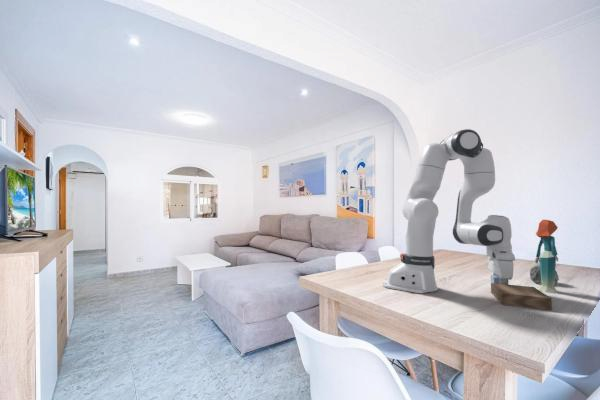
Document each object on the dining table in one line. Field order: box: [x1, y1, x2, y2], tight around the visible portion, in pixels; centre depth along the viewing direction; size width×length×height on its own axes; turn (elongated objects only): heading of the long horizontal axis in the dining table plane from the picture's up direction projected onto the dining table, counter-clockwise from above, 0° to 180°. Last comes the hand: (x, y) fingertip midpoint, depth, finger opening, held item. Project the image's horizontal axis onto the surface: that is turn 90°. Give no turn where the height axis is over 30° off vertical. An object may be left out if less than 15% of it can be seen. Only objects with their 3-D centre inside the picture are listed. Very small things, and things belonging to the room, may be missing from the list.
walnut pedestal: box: [490, 282, 553, 311], centre depth 100 cm, size 14×14×4 cm
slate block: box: [490, 274, 509, 285], centre depth 115 cm, size 5×5×5 cm
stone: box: [529, 262, 560, 285], centre depth 124 cm, size 10×10×10 cm
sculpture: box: [534, 219, 559, 294], centre depth 113 cm, size 13×7×30 cm, turn 168°
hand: (499, 284), depth 115 cm, fingers closed on slate block, 5 cm apart
